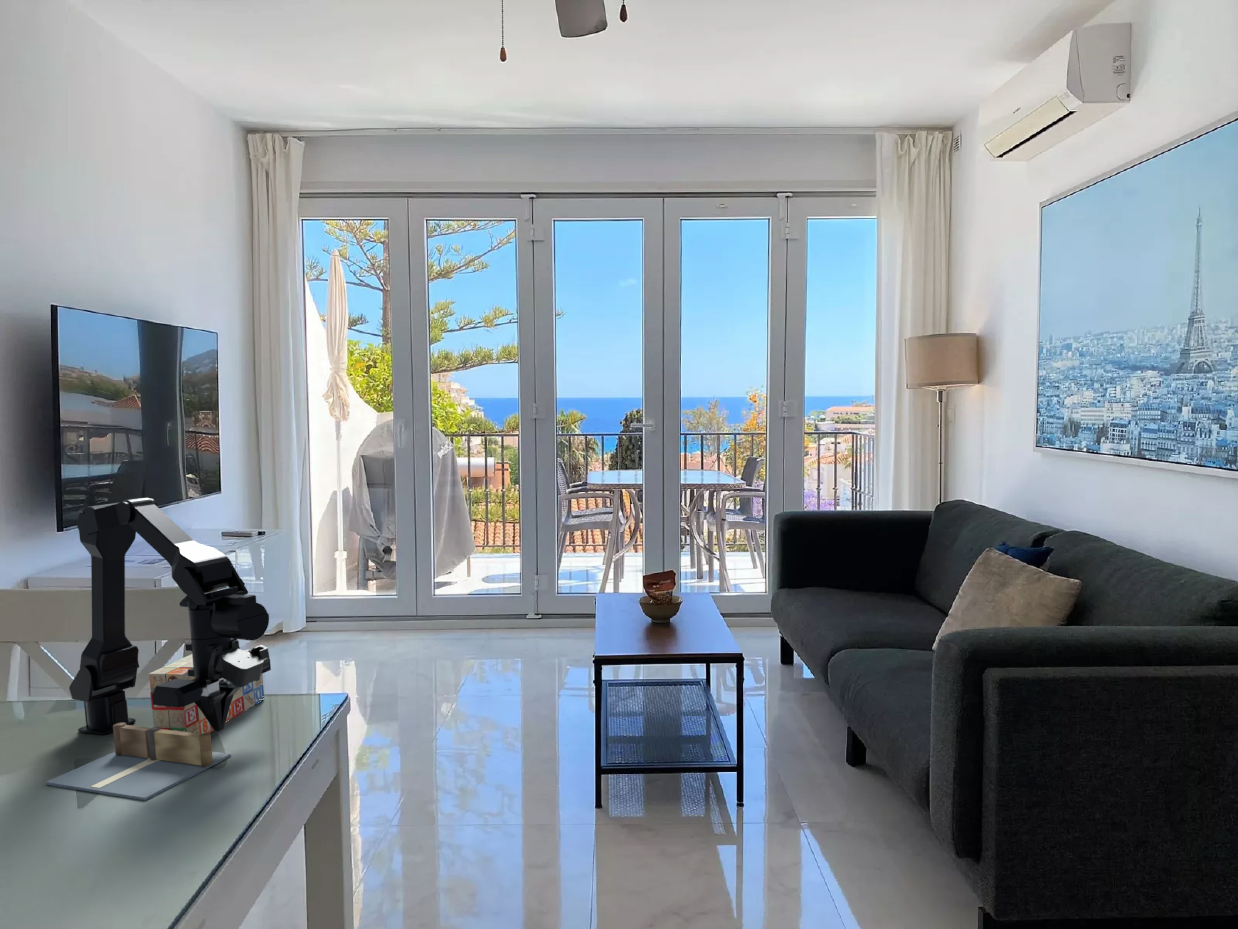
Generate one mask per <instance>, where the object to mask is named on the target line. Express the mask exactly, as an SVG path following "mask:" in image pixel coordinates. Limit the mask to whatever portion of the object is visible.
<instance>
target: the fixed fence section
mask: <svg viewBox="0 0 1238 929" xmlns="http://www.w3.org/2000/svg"><path fill="white" fill-rule="evenodd" d="M149 728H150V727H146V726H137V725H131V724H129V725H126V723H117V724H115V725H113V731H112V732H113V739H114V740H113V741H114V752H115V753H116V755H128V756H135V757H143V758H149V757H150V753H149V742H148V731H147V730H148V729H149Z"/></svg>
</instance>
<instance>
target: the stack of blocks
mask: <svg viewBox="0 0 1238 929" xmlns="http://www.w3.org/2000/svg"><path fill="white" fill-rule="evenodd" d="M191 668H193V657H192V653H191V654H189V655H187V656H184V657H182V658H181V659H180V658H179V659H178V660H176V661H174V662H172V663H170V664H168V665H166V666H163V667H161V668H157V669H156V670H154V671H152V672H149V674H148V677H149V685H150V686H149V687H150V704H151V710H152V718H153V727H160V728H161V729H164V730H173V731H181V732H189V733H198V734H204V733H210V734H211V733H212V732H213V731H214V729H213V728H212V726H211V725H210V723H209V722H208V720H207V719H206V717H205V716H204V714H203V713H202V711H201V710H200V709H199V707H198V706H197V705H196V704H195V703H192V704H189V705H187V706H184V707H179V708H178V707H169V706H159V705H153V699H152V691H153V690H154V688H155V687H156V686H158V685H160V684H163V683H165V682H168V681H171V680H173V679H181V680H193V679H195V677H193V676H188V669H191ZM206 681H208V680H206ZM262 696H264V697H262ZM263 698H264V699H265V691H264V677H263V674H261V677H260V680H258V681H253V682H251V683H249V684H247V685H246V686H244V687H241V688H240V689H239V690H238V691H237V692H236V693H235V694H234V696H233V698H232V701H231V704H230V707H229V711H228V715H227V718H226V721H228V720H230V719H231V720H233V719H234V718H233V717H235V718H236V717H238V716H240V715H242V714H243V713H245V712H247V711H248V710H250V709H251V708H253V707H255V706H256V705H255V704H257V705H258V704H259V703H258V702H260V701H262V700H259V699H263ZM262 702H263V701H262ZM260 703H261V702H260ZM254 705H255V706H254ZM250 707H251V708H250ZM249 708H250V709H249ZM239 714H240V715H239ZM237 715H238V716H237ZM232 718H233V719H232ZM231 720H230V721H231ZM228 722H229V721H228ZM211 731H212V732H211ZM214 732H215V731H214Z"/></svg>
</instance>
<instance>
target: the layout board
mask: <svg viewBox="0 0 1238 929" xmlns="http://www.w3.org/2000/svg"><path fill="white" fill-rule="evenodd" d="M212 757H213V764H212V765H210V766H205V767H203V766H201V765H194V764H186V763H179V762H172V761H165V760H157V759H156V760H151V759H150V757H149V758H143V757H135V756H128V755H116V753H115V751H113V752H110V753H109V754H106V755H104V756H101V757H100V758H97V759H94V760H92V761H90V762H88V763H86V764H84V765H82V766H79V767H77V768H75V769H73V770H70V771H68V772H66V773H63V774H61V775H59V776H57V777H54V778H52V779H49V780H48V781H45V784H46V786H47V785H48V786H52V787H58V788H65V789H71V790H78V791H83V792H89V793H96V794H101V795H109V796H113V797H115V796H116V797H119V798H127V799H133V800H139V801H144V802H145V801H148V800H150V799H151V798H153V797H156V796H157V795H159V794H161V793H163V792H165V791H168V790H169V789H171V788H173V787H174V786H177V785H178V784H181V783H182V782H185V781H187V780H188V779H190V778H192V777H194V776H196V775H197V774H200V773H202V772H203V771H205V770H208V769H209V768H211V767H213V766H215V765H217V764H220V763H221V762H222V761H225V760H226V759H229V758H230V757H232V754H231V753H227V752H219V751H212Z"/></svg>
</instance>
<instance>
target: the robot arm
mask: <svg viewBox="0 0 1238 929" xmlns="http://www.w3.org/2000/svg"><path fill="white" fill-rule="evenodd" d="M76 524H77V525H76V526H77V530H78V534H79V541H80V543H81V544H82V545H83V547H84V548H85V550H86V551H87V552H88V554H89V555H90V558H91V564H90V565H91V638H90V640H89V642H88V643H87V644H86V646H85V648H84V649H83V651H82V653H81V654H80V655H81V656H80V663H79V670H78V671H77V673H76V674H75V676H74V679H73V680H72V682H71V683H70V685H69V687H68V689H69V693H70V696H71V698H72V699H73V700H77V701H80V702H83V708H84V716H85V718H84V719H85V725H84V726H81V727H79V728H77V732H78V733H86V734H94V735H102V736H104V735H107V734H110V733H112V732H113V725H115V724H117V723H126V725H131V724H133V723H135V722H136V720H137V719H136V718H133V717H129V712H128V711H129V710H128V700H126V690H127V689H130V688H135V687H136V681H137V675H138V669H139V668H140V664H139V653H140V652H139V647H138V646H137V645H133V644H132V643H131V641H130V640H129V638H127V636H126V554H127V552H128V551H129V550H130V548H131V547H132V545H133V543H134V542H135V540H136V535H137V534H138V535H139V536H140V537H141V538H142V539H143V540H144V541H145V542H146V543H147V544H149V546H150V547H152V548H153V549H154V550H155V551H156V552H157V553H158V555H160V557H162V558H163V559H164V560H165V561H166V562H167V563H168V564H169V566H170V567H171V578H172V580H173V581H174V583H175V584H176V585H177V586H178V587H179V589H180V590H181V591H182V592H183V593H184V595H185V597H184V598H182V599H181V601H179V606H180V607H181V608H182V607H183V608H187V610H188V619H189V620H188V621H189V632H190V642H189V643H185V651H191V654H192V657H193V668H191V669H188V676H193V677H195V679H193V680H181V679H173V680H171V681H168V682H165V683H163V684H160V685H158V686H156V687H155V688H154V690H153V691H152V699H153V705H159V706H169V707H178V708H179V707H184V706H187V705H189V704H192V703H195V704H196V705H197V706H198V707H199V709H200V710H201V711H202V713H203V714H204V716H205V717H206V719H207V720H208V722H209V723H210V725H211V726H212V728H213V729H214V732H217V733H220V732H222V731H224V729H225V725H226V723H227V722H226V718H227V715H228V711H229V707H230V704H231V701H232V698H233V696H234V694H235V693H236V692H237V691H238V690H239V689H240V688H241V687H244V686H246V685H247V684H249V683H251V682H253V681H258V680H260V677H261V674H262V675H263V674H264V673H267V672H269V671H271V670H272V667H271V666H272V665H271V659H270V653H269V652H270V651H269V648H268V647H267V646H265V645H263V644H260V645H257V646H255V647H253V648H252V649H245V650H243V649H241V647H240V643H239V642H240V641H239V640H244V641H257V640H259V639H260V638H261V637H263V635H264V634H265V632H267V629H268V627H269V623H270V614H269V613H268V611H267V608H266V607H265V606H264V605H263V604H262V603H258V602H257V596H256V595H255V594H249V590H248V589H247V587H246V586H245V585H246V583H245V581H244V580H243V579H242V578H241V577H240V574H238V572H237V570H236V568H235V567H234V564H233V563H232V561H231V559H230V558H229V557H228V556H227V554H224V553H223V552H221V551H219V550H218V549H216V548H215V547H212V546H209V545H206V544H202V543H199V542H197V541H196V540H194V539H193V538H192V537H191V536H190V535H188V534H187V533H186V532H185V531H184V530H183V529H182V528H181V527H180V526H179V525H177V523H176V522H174V521H173V520H172V518H170V517H169V516H168V515H167V514H166V513H165V512H164V511H162V509H160V508H159V506H158V503H157V501H156V500H155V499H154V498H149V497H138V498H130V499H125V500H123V501H121V502H113V503H106V504H99V505H97V504H96V505H91V506H86V507H85V508H83V510H82V511H81V512H79V514H78V517H77V521H76ZM206 680H208V681H206ZM225 722H226V723H225Z"/></svg>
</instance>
